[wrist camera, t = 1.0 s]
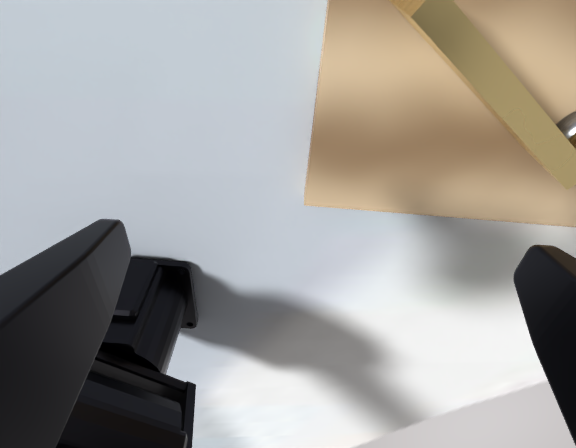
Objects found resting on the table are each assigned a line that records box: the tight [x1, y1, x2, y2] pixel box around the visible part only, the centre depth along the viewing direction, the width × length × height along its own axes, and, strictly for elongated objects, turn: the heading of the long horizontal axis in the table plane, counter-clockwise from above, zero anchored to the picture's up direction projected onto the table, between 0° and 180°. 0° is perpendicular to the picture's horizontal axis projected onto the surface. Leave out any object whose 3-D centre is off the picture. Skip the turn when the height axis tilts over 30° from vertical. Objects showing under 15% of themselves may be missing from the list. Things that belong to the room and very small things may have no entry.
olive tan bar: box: [389, 0, 576, 190], centre depth 13 cm, size 12×3×4 cm, turn 51°
